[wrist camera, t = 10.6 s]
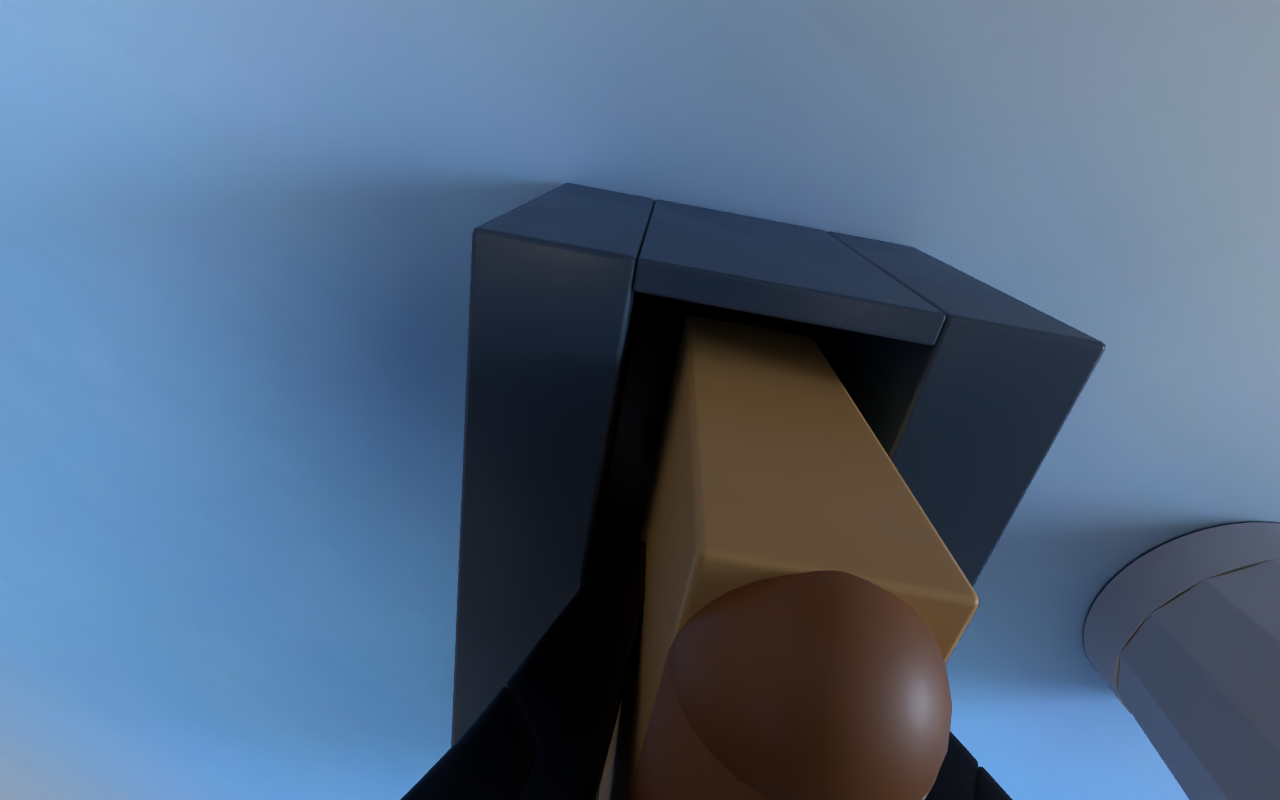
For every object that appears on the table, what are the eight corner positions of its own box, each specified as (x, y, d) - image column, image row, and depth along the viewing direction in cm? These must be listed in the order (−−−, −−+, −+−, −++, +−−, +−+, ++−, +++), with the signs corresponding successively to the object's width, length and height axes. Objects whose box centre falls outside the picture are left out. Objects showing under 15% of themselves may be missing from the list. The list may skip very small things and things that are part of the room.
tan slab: (713, 653, 12) (746, 1166, 6) (617, 637, 12) (558, 1137, 6) (814, 336, 9) (1081, 745, 3) (686, 313, 9) (702, 681, 3)
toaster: (789, 584, 16) (845, 816, 11) (527, 539, 16) (450, 751, 10) (914, 247, 12) (1111, 344, 7) (565, 182, 12) (470, 226, 6)
